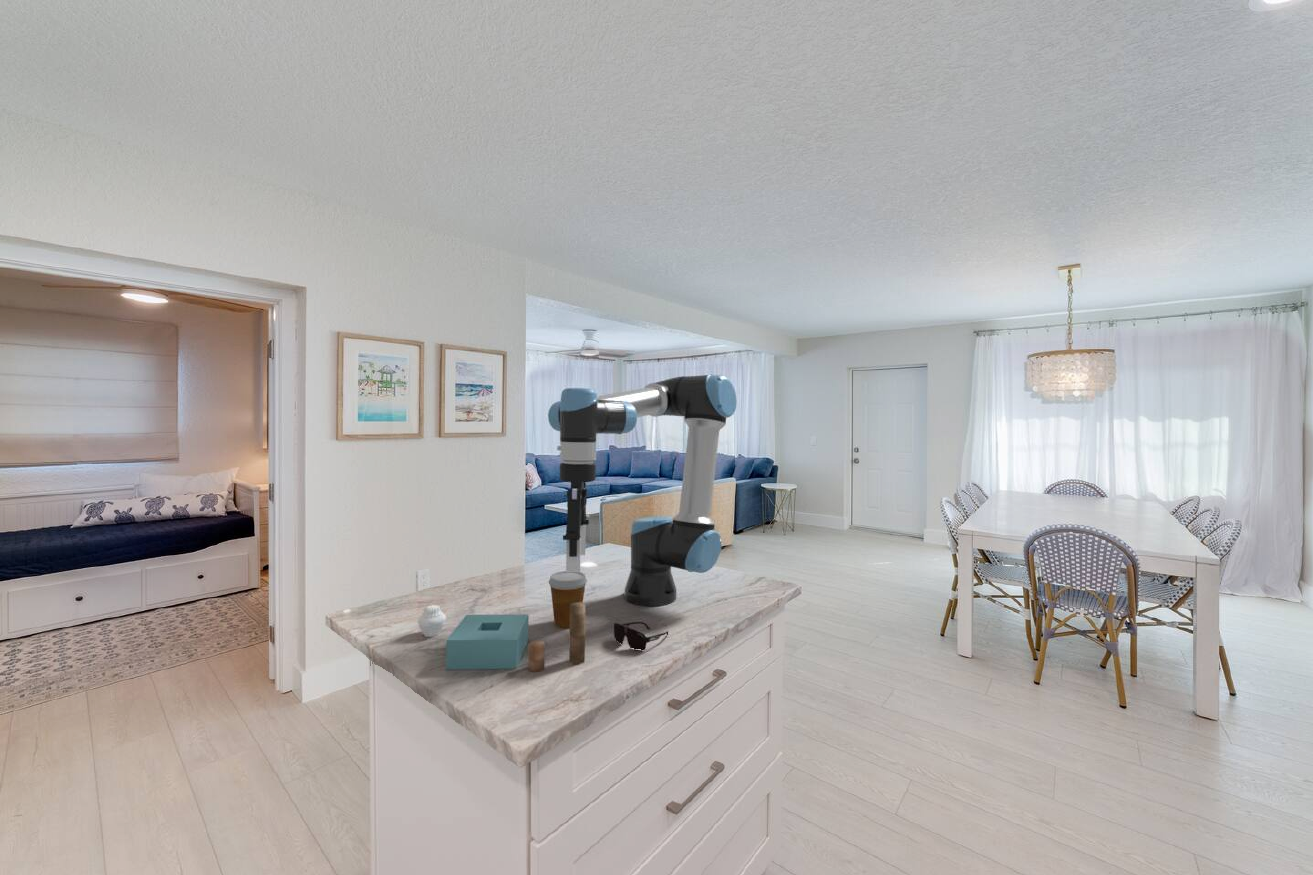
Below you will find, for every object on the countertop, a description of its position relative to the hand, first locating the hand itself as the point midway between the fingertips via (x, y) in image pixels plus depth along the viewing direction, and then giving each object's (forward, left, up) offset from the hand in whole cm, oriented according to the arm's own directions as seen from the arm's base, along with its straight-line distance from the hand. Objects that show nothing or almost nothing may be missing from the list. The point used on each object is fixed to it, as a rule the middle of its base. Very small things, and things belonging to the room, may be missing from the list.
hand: (576, 562), depth 111 cm
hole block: (+19, -4, -21) cm, 28 cm away
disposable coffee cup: (+4, -21, -21) cm, 30 cm away
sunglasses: (-15, -10, -21) cm, 28 cm away
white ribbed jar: (+35, -15, -21) cm, 43 cm away
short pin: (+8, +3, -21) cm, 22 cm away
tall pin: (0, 0, -21) cm, 21 cm away
